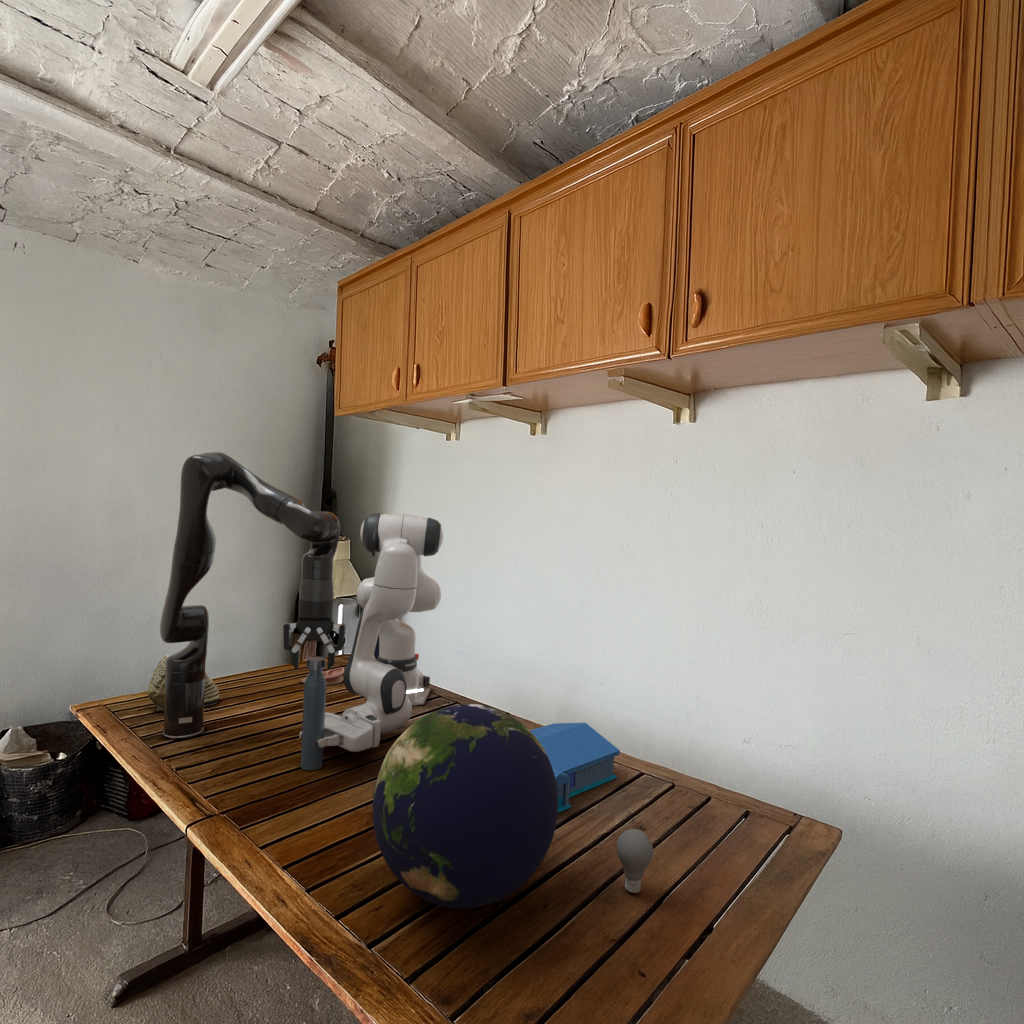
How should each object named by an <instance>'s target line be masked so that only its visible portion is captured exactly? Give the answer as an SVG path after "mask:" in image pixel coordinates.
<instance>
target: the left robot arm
mask: <svg viewBox="0 0 1024 1024" xmlns="http://www.w3.org/2000/svg"><path fill="white" fill-rule="evenodd" d="M223 489H227V490H230V491H233V492H236V493H238V494H240V495H243V496H244V497H246V498H247V500H248V501H249V502H250V503H251V506H253V507H254V509H255V510H256V511H257V512H259V513H260V514H261V515H263V516H264V517H267V518H268V519H270V520H272V521H274V522H276V523H278V524H280V525H282V526H284V527H285V528H286V529H288V530H289V531H290V532H291V533H293V534H294V535H295V536H297V537H298V538H299V539H301V540H304V541H306V542H310V548H309V550H308V551H307V552H306V553H304V555H302V559H301V576H300V578H301V579H300V583H299V595H298V597H299V598H298V617H297V622H289V621H287V622H286V623H285V624H284V625H283V649H284V650H285V651H288V652H291V666H292V667H294V669H295V670H297V669H299V667H300V656H301V655H300V654H301V651H300V648H301V647H302V645H303V643H304V642H305V641H306V642H312V641H313V642H323V644H324V645H325V647H326V649H327V650H328V653H327V670H332V667H334V665H335V664H336V653H337V652H341V651H342V650H343V649H344V646H345V639H346V628H347V625H346V623H344V622H343V623H335V622H334V621H333V609H334V608H333V607H334V595H335V592H334V559H335V556H336V553H337V550H338V545H339V541H340V535H341V524H340V520H339V518H338V516H336V515H335V513H333V512H331V511H326V510H325V511H323V510H322V511H315V510H312V509H310V508H308V507H306V506H305V504H304V503H303V501H302V500H300V499H299V498H297V497H295V496H293V495H291V494H289V493H288V492H286V491H283V490H282V489H279V488H278V487H275V486H274V485H271V483H268V482H266V481H264V479H262V478H261V477H259V476H257V475H256V474H254V473H253V472H252V471H250V470H249V469H248V468H246V467H245V466H244V465H242V464H241V463H239V462H238V461H237V460H235V459H234V458H232V457H231V456H230V455H228V454H226V453H224V452H221V451H211V452H203V453H198V454H197V453H196V454H193V455H190V456H189V457H187V458H186V459H185V461H184V462H183V465H182V467H181V472H180V489H179V490H180V491H179V509H178V510H179V512H178V518H177V527H176V534H175V539H174V545H173V550H172V552H173V553H172V557H171V558H172V560H171V569H170V574H169V575H170V576H169V582H168V587H167V591H166V595H165V599H164V603H163V608H162V611H161V616H160V622H159V634H160V635H159V636H160V638H161V640H162V641H163V642H164V643H166V644H178V643H188V644H187V645H186V646H184V647H183V648H182V649H180V650H179V651H177V652H175V653H173V654H170V655H171V656H169V657H168V658H167V660H166V674H165V705H164V710H163V731H162V737H164V738H166V739H169V740H185V739H190V738H191V739H192V738H194V737H197V736H199V735H202V734H203V732H204V730H205V729H204V722H205V721H204V718H205V706H204V693H205V672H206V664H207V663H206V660H207V653H208V639H209V630H210V615H209V614H210V613H209V610H208V609H207V607H206V606H205V605H203V604H198V605H197V604H194V605H193V604H192V605H184V603H185V600H186V599H187V597H188V595H189V594H190V593H191V591H193V589H194V588H195V587H196V586H197V585H198V584H199V583H200V582H201V581H202V580H203V578H204V577H205V576H206V575H207V574H208V573H209V571H210V570H211V569H212V566H213V564H214V558H215V553H216V548H217V537H216V534H215V531H214V529H213V527H212V525H211V522H210V520H209V517H208V506H209V500H210V497H211V494H212V492H215V491H219V490H223ZM295 629H296V630H297V631H298V633H299V634H300V637H299V638H298V639H297V641H296V643H295V644H293V643H292V633H293V632H294V631H295ZM333 630H335V633H336V634H338V638H337V644H335V643H334V642H333V639H332V637H331V635H330V633H331V632H332V631H333Z"/></svg>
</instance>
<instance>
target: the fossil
mask: <svg viewBox="0 0 1024 1024" xmlns="http://www.w3.org/2000/svg"><path fill="white" fill-rule="evenodd" d="M171 655H172V654H165V655H164V656H163V657H162V658H161V659H160V660H159V662H158V663H157V666H156V667H155V669H154V670H153V672H152V675H151V677H150V680H149V684H148V688H147V697H148V699H149V700H150V701H152V703H153V704H154V706H155V711H158V712H159V711H162V712H163V711H164V705H165V674H166V660H167V658H168V657H169V656H171ZM220 698H221V696H220V690H219V688H218V686H217V685H216V683H215V682H214V681H213V679H212V678H211V677H209V675H208V674H207V672H206V671H205V693H204V707H207V706H213V705H215V704H217V703H218V701H219V699H220Z"/></svg>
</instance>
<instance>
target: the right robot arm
mask: <svg viewBox="0 0 1024 1024" xmlns="http://www.w3.org/2000/svg"><path fill="white" fill-rule="evenodd" d="M359 533H360V534H359V535H360V540H361V544H362V546H363V547H364V549H365V550H366V551H367V552H369V553H370V554H371V557H373V558H375V557H376V554H377V553H379V555H378V559H377V562H376V567H375V571H374V576H373V577H367V578H363V580H361V582H360V584H359V585H358V587H357V590H356V600H357V603H358V604H359V606H360V607H361V611H360V615H359V619H358V622H357V627H356V631H355V635H354V640H353V643H352V648H351V653H350V655H349V659H348V661H347V663H346V665H345V668H344V673H343V676H342V677H343V679H344V680H343V685H344V687H345V689H346V690H347V691H348V693H351V694H354V695H357V696H361V697H364V698H366V701H365V703H363V704H359V705H355V706H352V707H349V708H346V709H345V710H344V711H343V712H342V714H341V715H339V714H336V713H333V712H327V711H325V728H324V737H321V738H318V739H317V740H316V746H319V747H320V748H321V747H324V748H325V747H336V746H337V747H339V748H342V749H344V750H346V751H348V752H352V753H357V752H361V751H365V750H368V749H370V748H377V747H379V746H380V743H381V742H380V741H381V736H383V735H387V734H389V733H392V732H394V731H396V730H398V729H400V728H402V727H403V726H405V725H406V724H407V723H408V722H409V720H410V719H411V717H412V713H413V709H412V708H413V706H422V705H425V703H426V700H427V699H428V697H429V694H430V693H431V688H430V685H431V684H430V683H431V677H430V676H427V675H424V673H423V672H421V670H420V669H419V668H418V660H419V658H420V654H419V653H416V637H417V635H416V631H415V629H414V628H413V627H412V626H411V625H409V624H407V623H406V622H404V621H401V620H400V618H403V617H404V616H406V615H407V614H409V613H423V612H428V611H429V612H430V611H434V610H435V609H436V608H437V607H438V606H439V604H440V602H441V599H442V589H441V587H440V584H439V583H438V581H436V579H433V578H431V577H430V576H429V575H428V574H427V573H426V572H425V571H424V569H423V567H422V556H423V557H431V556H435V555H436V554H438V552H439V550H440V548H441V547H442V545H443V542H444V531H443V528H442V524H441V523H440V522H439V520H437V519H435V518H432V517H423V516H419V515H412V514H408V513H407V514H406V513H401V514H399V513H381V512H374V513H369V514H368V515H366V516H365V518H364V520H363V522H362V524H361V525H360V532H359ZM377 642H378V644H379V645H378V648H379V649H378V655H377V659H376V657H375V651H376V646H377ZM299 740H302V730H301V731H300V732H299Z"/></svg>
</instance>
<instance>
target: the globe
mask: <svg viewBox="0 0 1024 1024" xmlns="http://www.w3.org/2000/svg"><path fill="white" fill-rule="evenodd" d="M530 730H531V729H529V728H527V726H525V725H524V724H523V723H522V722H520V721H519V720H518V719H516V718H515V717H514V716H512V715H510V714H509V713H506V712H504V711H502V710H499V709H497V708H494V707H491V706H487V705H482V704H478V703H477V704H475V703H468V704H467V703H466V704H465V703H464V704H455V705H450V706H449V705H448V706H445V707H442V708H439V709H437V710H434V711H432V712H429V713H428V714H425V715H424V716H422V717H420V719H417V720H416V721H415V722H413V723H412V724H411V725H410V726H408V727H407V728H406V729H405V730H404V731H403V732H402V734H401V735H400V736H398V737H397V738H396V740H395V741H394V742H393V744H392V745H391V747H390V748H389V749H388V751H387V753H386V755H385V757H384V760H383V761H382V763H381V765H380V768H379V771H378V774H377V776H376V781H375V784H374V789H373V796H372V804H371V805H372V807H371V809H372V824H373V829H374V836H375V839H376V843H377V846H378V849H379V852H380V853H381V856H382V858H383V860H384V861H385V863H386V865H387V866H388V868H389V871H391V873H392V874H393V875H394V876H395V878H396V879H397V880H398V881H399V882H400V883H401V884H402V885H403V886H404V887H405V888H406V889H407V890H409V891H410V892H411V893H413V895H415V896H417V897H419V898H421V899H422V900H425V901H426V902H429V903H431V904H434V905H437V906H440V907H444V908H448V909H457V910H465V909H466V910H467V909H469V910H470V909H477V908H481V907H486V906H489V905H492V904H494V903H497V902H499V901H502V900H504V899H505V898H508V896H510V895H512V894H513V893H515V892H516V891H518V890H519V889H520V888H521V887H523V885H524V884H526V883H527V882H528V880H530V879H531V878H532V877H533V875H534V874H535V873H536V871H537V870H538V869H539V867H540V866H541V865H542V862H543V861H544V859H545V857H546V855H547V854H548V851H549V849H550V847H551V844H552V842H553V839H554V836H555V832H556V829H557V828H556V827H557V822H558V816H559V813H558V791H557V784H556V779H555V775H554V772H553V768H552V765H551V763H550V761H549V758H548V756H547V753H546V752H545V750H544V748H543V747H542V745H541V743H540V742H539V741H538V739H537V738H536V737H535V736H534V735H533V734H532V733H531V732H530Z"/></svg>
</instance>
